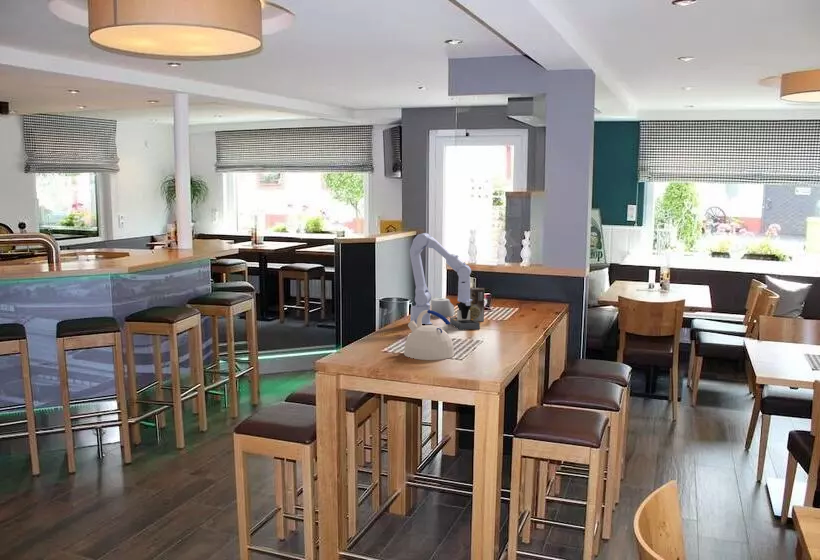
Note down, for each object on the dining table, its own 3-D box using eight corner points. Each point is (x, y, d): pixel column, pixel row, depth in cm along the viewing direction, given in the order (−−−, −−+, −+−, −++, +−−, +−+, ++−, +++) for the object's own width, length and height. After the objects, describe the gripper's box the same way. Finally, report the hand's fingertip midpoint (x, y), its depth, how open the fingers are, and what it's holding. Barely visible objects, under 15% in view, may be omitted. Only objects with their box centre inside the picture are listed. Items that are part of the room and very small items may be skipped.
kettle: (424, 346, 300) (424, 304, 298) (464, 354, 287) (465, 309, 285) (392, 354, 284) (392, 310, 282) (433, 363, 271) (434, 316, 269)
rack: (459, 330, 335) (459, 323, 334) (449, 323, 350) (450, 317, 350) (479, 329, 337) (479, 322, 337) (469, 323, 353) (469, 316, 352)
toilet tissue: (458, 315, 373) (458, 299, 372) (438, 318, 365) (438, 301, 364) (447, 313, 380) (447, 297, 379) (427, 315, 373) (428, 299, 372)
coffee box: (483, 319, 363) (484, 287, 361) (483, 321, 357) (484, 289, 355) (465, 318, 364) (466, 287, 362) (465, 321, 358) (466, 289, 356)
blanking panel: (458, 325, 344) (458, 310, 343) (457, 324, 346) (457, 310, 345) (470, 324, 345) (470, 310, 344) (468, 324, 347) (469, 309, 346)
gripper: (476, 292, 337) (476, 320, 339) (467, 288, 351) (467, 315, 353) (462, 292, 336) (461, 321, 337) (453, 288, 350) (453, 315, 351)
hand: (463, 318), depth 345 cm, fingers closed on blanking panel, 2 cm apart
